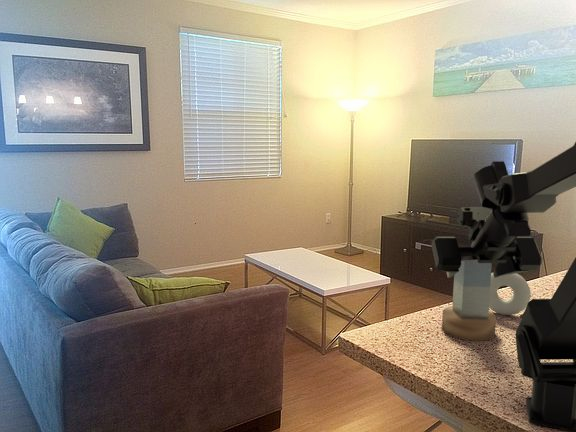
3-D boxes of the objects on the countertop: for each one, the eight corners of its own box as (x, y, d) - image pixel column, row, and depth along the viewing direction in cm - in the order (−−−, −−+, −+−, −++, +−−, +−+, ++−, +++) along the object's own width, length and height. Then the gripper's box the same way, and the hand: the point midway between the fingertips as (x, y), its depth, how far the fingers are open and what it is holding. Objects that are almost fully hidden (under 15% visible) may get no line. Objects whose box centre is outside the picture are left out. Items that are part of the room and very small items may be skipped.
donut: (529, 316, 103) (533, 271, 102) (528, 321, 100) (532, 275, 99) (480, 308, 108) (483, 265, 107) (478, 312, 105) (481, 269, 104)
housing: (488, 319, 92) (492, 253, 90) (461, 318, 92) (465, 253, 90) (477, 309, 97) (481, 247, 95) (452, 309, 97) (455, 247, 95)
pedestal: (495, 344, 89) (496, 326, 88) (439, 336, 93) (440, 318, 92) (494, 325, 98) (495, 309, 97) (443, 318, 102) (444, 303, 101)
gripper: (539, 193, 86) (506, 241, 98) (436, 193, 86) (417, 241, 98) (560, 245, 79) (522, 289, 92) (449, 245, 79) (427, 289, 92)
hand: (471, 275), depth 94 cm, fingers open, 9 cm apart
